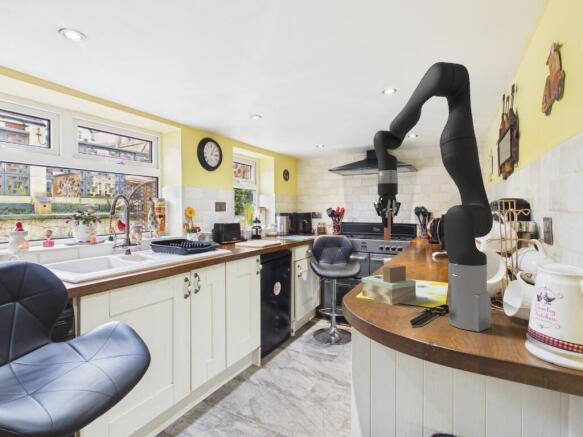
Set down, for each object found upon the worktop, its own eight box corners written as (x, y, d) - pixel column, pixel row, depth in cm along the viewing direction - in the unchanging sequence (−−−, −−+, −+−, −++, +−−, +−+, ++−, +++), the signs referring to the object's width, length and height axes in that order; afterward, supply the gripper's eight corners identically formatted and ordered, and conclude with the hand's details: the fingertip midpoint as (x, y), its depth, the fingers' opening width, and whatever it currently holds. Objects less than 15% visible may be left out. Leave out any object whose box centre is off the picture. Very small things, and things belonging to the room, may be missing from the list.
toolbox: (415, 301, 109) (415, 284, 108) (392, 307, 102) (391, 289, 102) (384, 293, 120) (384, 277, 120) (361, 298, 114) (361, 281, 114)
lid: (415, 284, 108) (415, 266, 108) (391, 289, 102) (391, 270, 102) (384, 277, 120) (384, 261, 120) (361, 281, 114) (361, 264, 114)
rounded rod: (391, 240, 121) (392, 209, 120) (387, 240, 119) (387, 209, 119) (386, 239, 123) (386, 209, 122) (382, 240, 121) (382, 209, 121)
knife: (416, 331, 84) (416, 326, 84) (395, 324, 89) (395, 319, 89) (458, 310, 99) (458, 306, 99) (438, 306, 104) (438, 302, 104)
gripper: (382, 181, 113) (382, 228, 114) (407, 182, 121) (407, 227, 121) (367, 183, 120) (367, 227, 120) (391, 184, 127) (391, 226, 128)
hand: (387, 227), depth 121 cm, fingers closed on rounded rod, 2 cm apart
